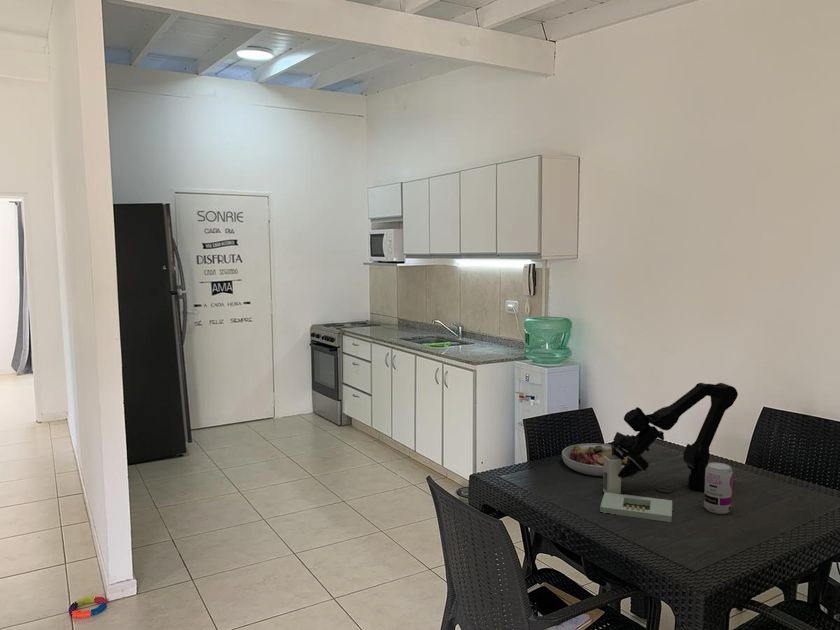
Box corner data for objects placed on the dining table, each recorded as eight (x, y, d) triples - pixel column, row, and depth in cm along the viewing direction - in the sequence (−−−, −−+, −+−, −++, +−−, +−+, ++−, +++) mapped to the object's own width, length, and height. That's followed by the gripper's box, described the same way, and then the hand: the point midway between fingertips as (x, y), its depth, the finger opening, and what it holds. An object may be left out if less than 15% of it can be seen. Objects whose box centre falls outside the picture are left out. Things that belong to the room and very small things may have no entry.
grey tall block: (614, 491, 241) (615, 454, 240) (620, 495, 237) (621, 458, 235) (601, 492, 240) (602, 454, 239) (606, 496, 236) (607, 458, 235)
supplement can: (729, 506, 227) (731, 463, 225) (732, 516, 219) (734, 471, 217) (703, 503, 229) (705, 460, 228) (704, 512, 222) (706, 468, 220)
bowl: (589, 450, 290) (589, 432, 289) (654, 467, 268) (655, 447, 267) (546, 466, 269) (546, 446, 269) (613, 485, 247) (613, 464, 247)
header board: (672, 506, 227) (672, 497, 227) (671, 522, 214) (671, 512, 214) (604, 497, 235) (604, 488, 235) (600, 512, 222) (600, 503, 222)
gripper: (616, 418, 246) (587, 449, 245) (641, 432, 228) (609, 465, 227) (636, 438, 248) (606, 469, 248) (662, 454, 230) (630, 487, 229)
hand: (612, 472), depth 238 cm, fingers open, 9 cm apart
